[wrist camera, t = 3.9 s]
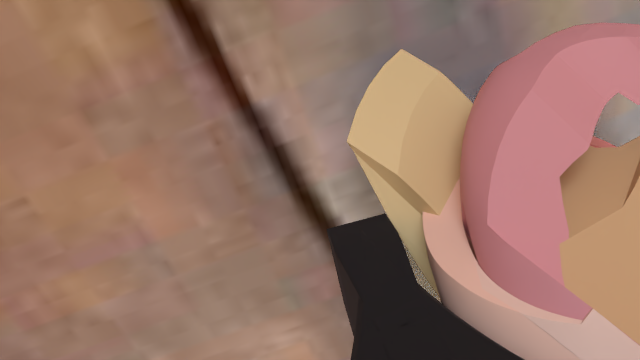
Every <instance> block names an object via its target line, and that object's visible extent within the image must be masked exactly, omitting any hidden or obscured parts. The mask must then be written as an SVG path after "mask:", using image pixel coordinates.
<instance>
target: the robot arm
mask: <svg viewBox="0 0 640 360" xmlns="http://www.w3.org/2000/svg"><path fill="white" fill-rule="evenodd" d="M327 232H328V237H329V241H330V245H331V249H332V254H333V258H334V262H335V266H336V271H337V275H338V279H339V283H340V288H341V292H342V296H343V300H344V304H345V308H346V311H347V315H348V318H349V322H350V325H351V328H352V332H353V335H354V343H353V349H352V355H351V360H525V359H523V358H521V357H519V356H518V355H516V354H514V353H512V352H511V351H509V350H507V349H506V348H504V347H503V346H501V345H500V344H498V343H496V342H495V341H493V340H492V339H490V338H488V337H487V336H485V335H484V334H482V333H481V332H480V331H478V330H477V329H475V328H474V327H472V326H471V325H469V324H468V323H466V322H465V321H464V320H462V319H461V318H460V317H458V316H457V315H456V314H454V313H453V312H452V311H450V310H449V309H448V308H446V307H445V306H444V305H443V304H442V303H440V302H439V301H438V300H437V299H435V298H434V297H433V296H432V295H430V294H429V293H428V292H427V291H426V290H425V289H423V288H422V287H421V286H420V285H419V284H418V283H417V281H416V278H415V276H414V273H413V270H412V268H411V265H410V262H409V260H408V257H407V254H406V252H405V249H404V246H403V244H402V241H401V238H400V236H399V233H398V232H397V230H396V228H395V227H394V225H393V224H392V222H391V221H390V220H389V218H388V217H387V215H386V214H382V215H378V216H374V217H371V218H367V219H363V220H359V221H356V222H352V223H348V224H344V225H341V226H337V227H333V228H329V229H327Z"/></svg>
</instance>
